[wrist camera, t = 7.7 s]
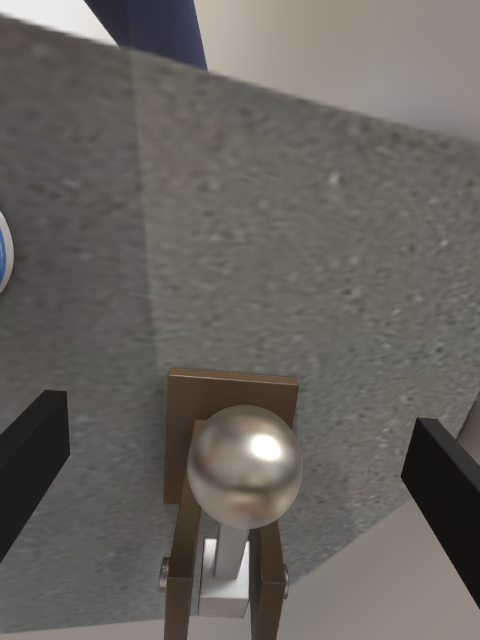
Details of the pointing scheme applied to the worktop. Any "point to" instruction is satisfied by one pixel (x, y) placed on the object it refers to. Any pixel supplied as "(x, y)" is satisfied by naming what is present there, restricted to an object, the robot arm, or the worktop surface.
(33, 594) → the worktop surface
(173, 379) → the bracket
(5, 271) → the supplement tub
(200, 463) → the tap lever
